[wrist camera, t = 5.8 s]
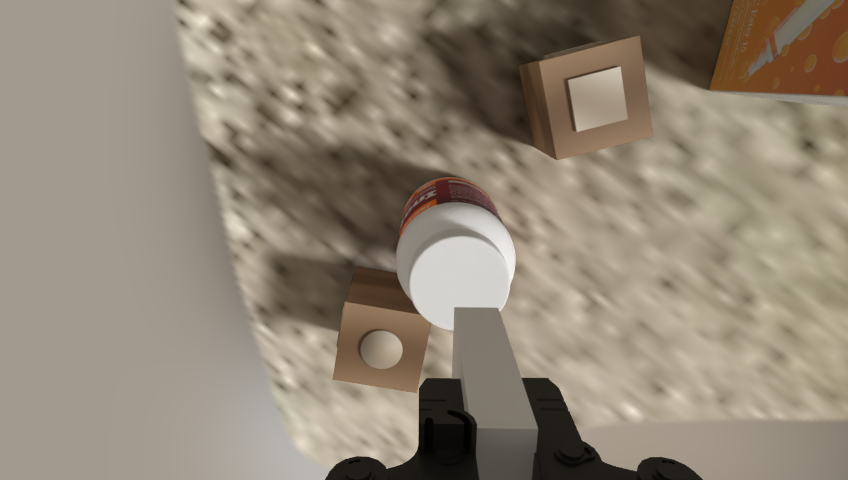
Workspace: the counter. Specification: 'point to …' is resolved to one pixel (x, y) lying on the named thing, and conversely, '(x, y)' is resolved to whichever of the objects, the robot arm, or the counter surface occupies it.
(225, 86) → the counter surface
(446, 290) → the pill bottle
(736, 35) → the small box
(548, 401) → the robot arm
